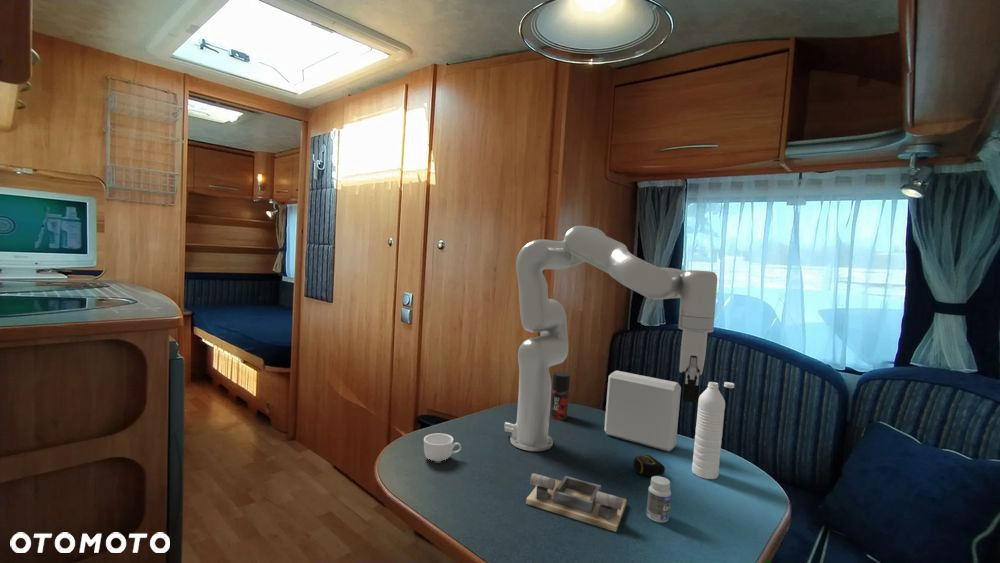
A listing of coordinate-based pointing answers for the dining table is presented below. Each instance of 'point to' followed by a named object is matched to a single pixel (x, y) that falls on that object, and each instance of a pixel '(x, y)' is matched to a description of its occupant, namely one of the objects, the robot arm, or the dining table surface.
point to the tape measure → (648, 466)
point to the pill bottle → (659, 499)
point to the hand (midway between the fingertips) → (690, 396)
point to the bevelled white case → (642, 409)
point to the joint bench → (577, 500)
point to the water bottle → (709, 432)
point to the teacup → (439, 446)
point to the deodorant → (560, 395)
